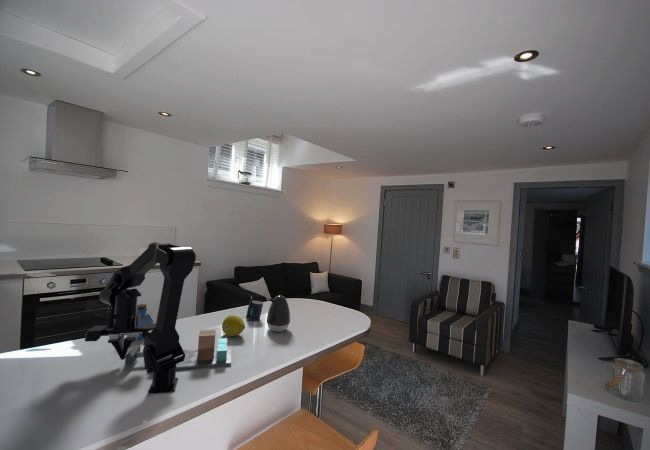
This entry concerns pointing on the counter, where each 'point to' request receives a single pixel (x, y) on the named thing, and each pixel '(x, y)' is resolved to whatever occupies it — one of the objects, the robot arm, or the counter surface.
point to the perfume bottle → (143, 318)
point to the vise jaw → (134, 355)
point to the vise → (220, 359)
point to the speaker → (254, 310)
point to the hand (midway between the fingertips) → (123, 359)
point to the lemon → (233, 325)
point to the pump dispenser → (278, 314)
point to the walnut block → (206, 344)
